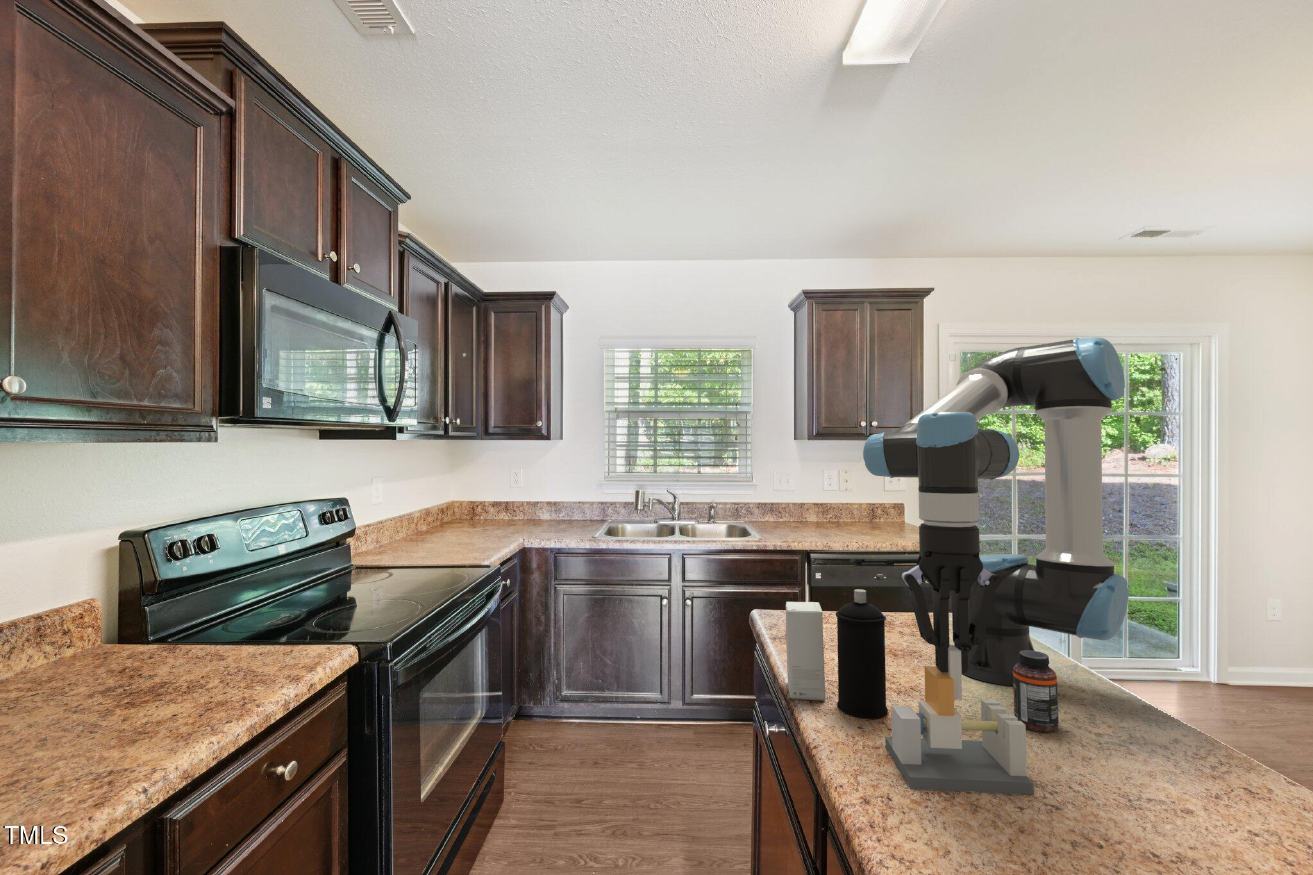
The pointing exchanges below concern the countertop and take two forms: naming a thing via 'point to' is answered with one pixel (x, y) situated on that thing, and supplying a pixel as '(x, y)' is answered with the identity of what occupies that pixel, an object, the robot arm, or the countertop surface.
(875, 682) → the aerosol can
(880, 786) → the countertop surface
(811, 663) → the skincare box
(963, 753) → the cord board
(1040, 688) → the supplement bottle
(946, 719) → the sleeve
